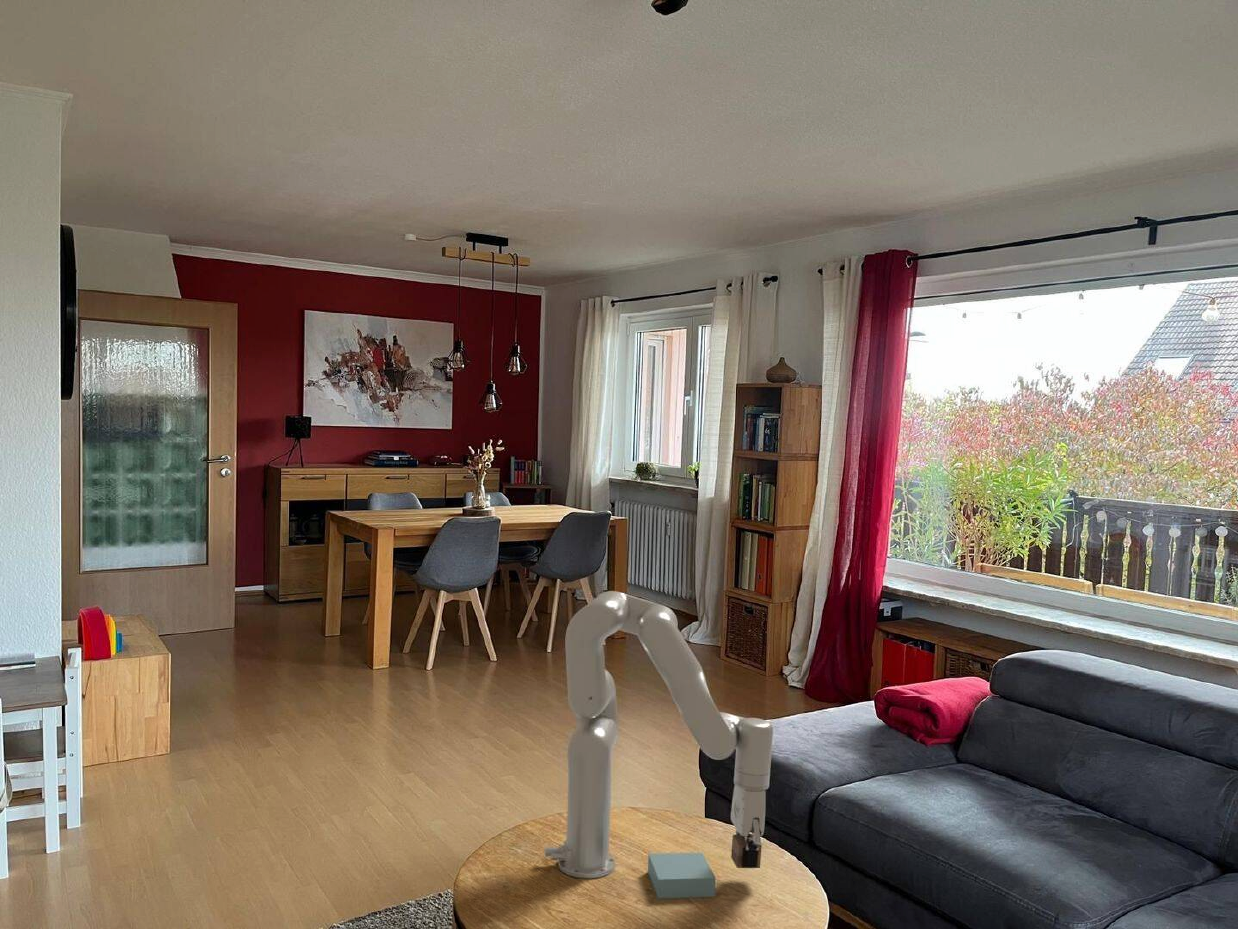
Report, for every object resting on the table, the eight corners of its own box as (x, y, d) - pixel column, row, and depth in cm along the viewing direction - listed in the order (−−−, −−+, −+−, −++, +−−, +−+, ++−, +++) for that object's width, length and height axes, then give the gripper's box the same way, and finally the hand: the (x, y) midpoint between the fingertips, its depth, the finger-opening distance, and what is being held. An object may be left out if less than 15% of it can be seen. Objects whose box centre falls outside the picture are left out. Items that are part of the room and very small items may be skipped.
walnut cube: (737, 868, 199) (739, 845, 199) (731, 857, 204) (732, 834, 204) (759, 868, 200) (761, 845, 200) (753, 857, 205) (755, 835, 205)
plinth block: (657, 898, 193) (658, 879, 193) (647, 872, 205) (648, 854, 205) (714, 897, 195) (715, 878, 194) (701, 870, 206) (702, 852, 206)
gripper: (724, 763, 209) (718, 843, 210) (745, 792, 192) (739, 880, 193) (757, 764, 210) (751, 844, 211) (781, 793, 193) (774, 880, 194)
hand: (745, 860), depth 202 cm, fingers closed on walnut cube, 5 cm apart
